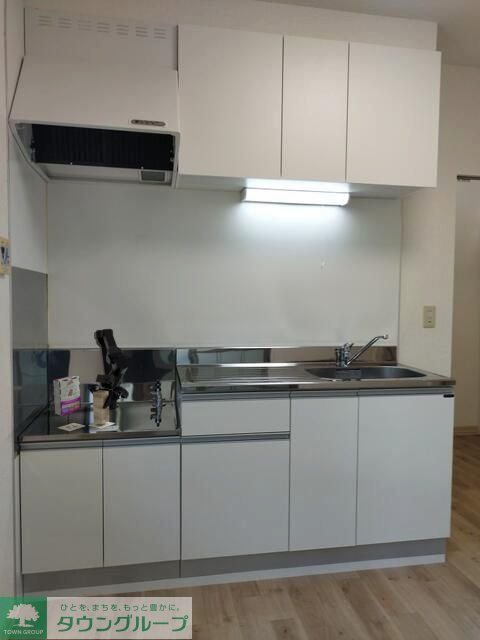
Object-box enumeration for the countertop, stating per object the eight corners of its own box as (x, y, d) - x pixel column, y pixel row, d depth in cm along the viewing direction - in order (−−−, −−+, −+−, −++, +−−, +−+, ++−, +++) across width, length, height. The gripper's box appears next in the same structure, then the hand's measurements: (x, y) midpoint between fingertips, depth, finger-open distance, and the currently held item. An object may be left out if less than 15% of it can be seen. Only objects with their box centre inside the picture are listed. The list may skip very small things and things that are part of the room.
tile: (57, 428, 189) (57, 427, 189) (73, 423, 196) (73, 422, 196) (69, 431, 185) (69, 431, 185) (85, 426, 192) (85, 425, 192)
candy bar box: (74, 408, 218) (73, 375, 217) (81, 410, 215) (80, 376, 214) (54, 414, 209) (52, 379, 207) (61, 416, 206) (59, 380, 205)
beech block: (100, 419, 196) (100, 390, 195) (109, 420, 195) (108, 391, 194) (93, 422, 192) (92, 392, 191) (102, 423, 191) (101, 393, 189)
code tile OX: (87, 425, 192) (87, 425, 192) (102, 420, 199) (102, 420, 199) (100, 429, 188) (100, 428, 188) (115, 423, 195) (115, 423, 195)
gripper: (89, 365, 199) (71, 395, 190) (124, 368, 192) (107, 400, 182) (101, 379, 207) (85, 409, 198) (135, 382, 200) (120, 414, 190)
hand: (99, 407), depth 192 cm, fingers closed on beech block, 4 cm apart
